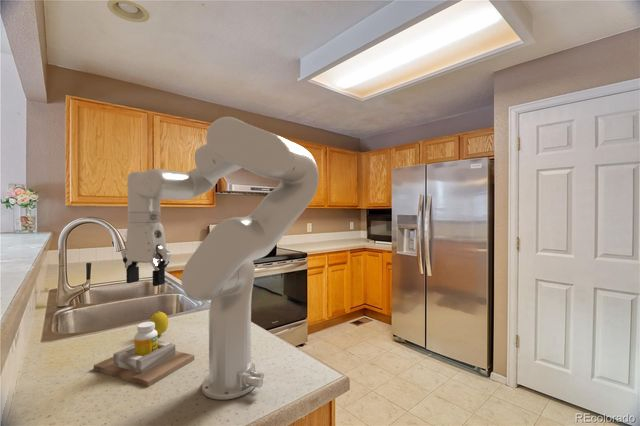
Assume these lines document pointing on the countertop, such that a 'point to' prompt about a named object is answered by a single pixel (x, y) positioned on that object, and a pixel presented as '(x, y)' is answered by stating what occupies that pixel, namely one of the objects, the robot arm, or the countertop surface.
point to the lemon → (160, 322)
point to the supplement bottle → (146, 339)
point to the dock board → (148, 374)
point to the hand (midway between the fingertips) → (145, 283)
